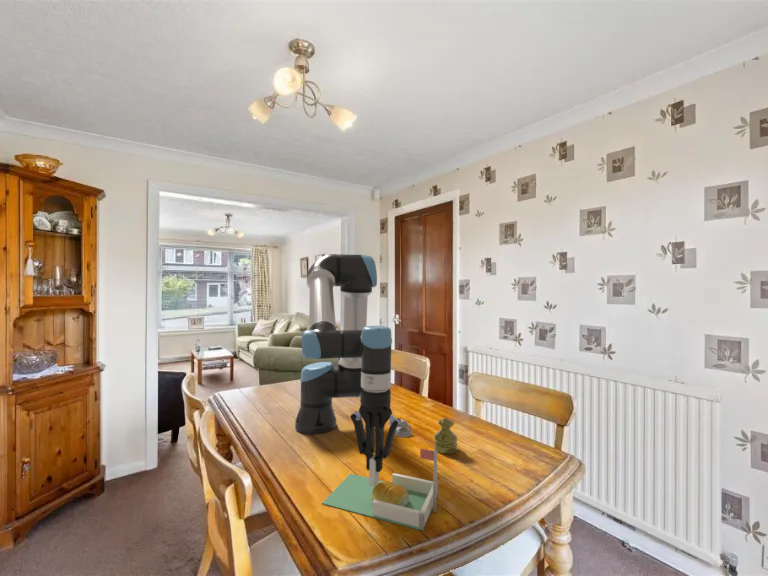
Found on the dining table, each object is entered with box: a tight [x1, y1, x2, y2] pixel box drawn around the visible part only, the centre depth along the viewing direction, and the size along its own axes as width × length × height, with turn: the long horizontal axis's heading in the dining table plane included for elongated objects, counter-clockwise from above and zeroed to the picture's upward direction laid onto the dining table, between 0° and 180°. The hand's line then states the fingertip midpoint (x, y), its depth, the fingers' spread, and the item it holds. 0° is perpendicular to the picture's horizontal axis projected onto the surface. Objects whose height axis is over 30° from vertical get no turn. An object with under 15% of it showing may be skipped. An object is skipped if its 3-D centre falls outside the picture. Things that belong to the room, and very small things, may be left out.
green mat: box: [321, 473, 439, 531], centre depth 89 cm, size 25×15×1 cm, turn 69°
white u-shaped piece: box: [372, 448, 439, 529], centre depth 86 cm, size 13×14×14 cm
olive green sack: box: [433, 417, 458, 455], centre depth 117 cm, size 7×7×10 cm
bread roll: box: [372, 480, 409, 507], centre depth 87 cm, size 8×9×4 cm
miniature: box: [394, 419, 413, 438], centre depth 130 cm, size 8×8×5 cm
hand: (374, 483), depth 89 cm, fingers closed
